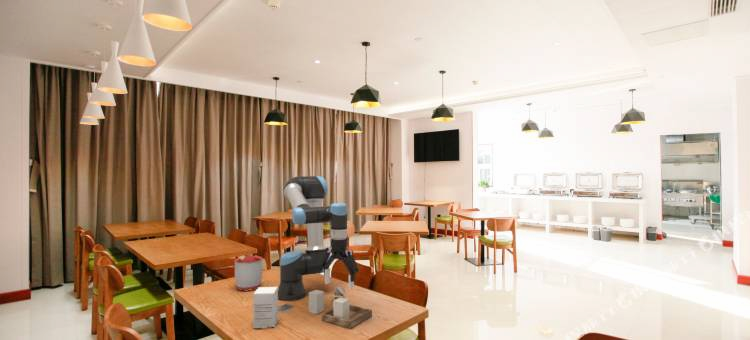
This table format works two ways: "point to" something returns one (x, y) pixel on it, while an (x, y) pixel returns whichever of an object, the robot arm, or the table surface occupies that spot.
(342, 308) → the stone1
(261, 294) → the supplement box
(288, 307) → the trowel
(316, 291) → the white upright block piece
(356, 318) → the brown wooden tray
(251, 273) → the grey bucket
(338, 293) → the architectural model
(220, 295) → the table surface
